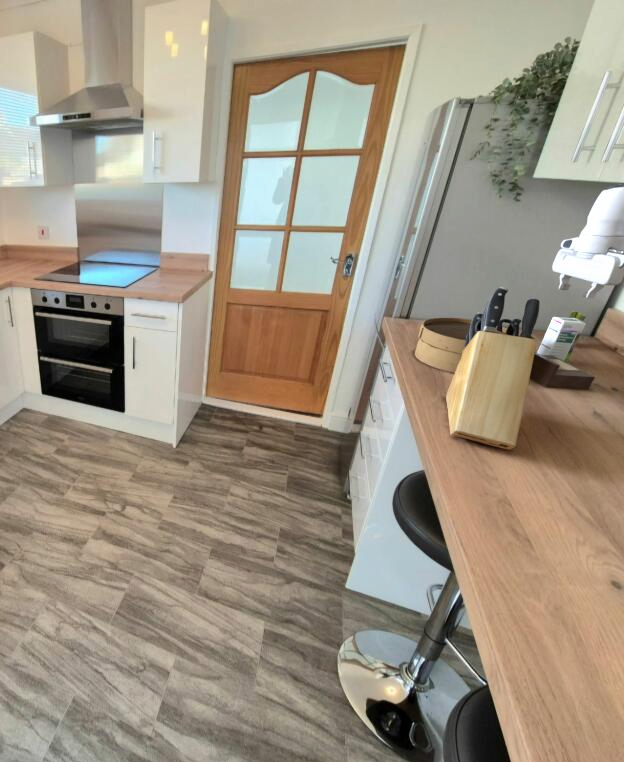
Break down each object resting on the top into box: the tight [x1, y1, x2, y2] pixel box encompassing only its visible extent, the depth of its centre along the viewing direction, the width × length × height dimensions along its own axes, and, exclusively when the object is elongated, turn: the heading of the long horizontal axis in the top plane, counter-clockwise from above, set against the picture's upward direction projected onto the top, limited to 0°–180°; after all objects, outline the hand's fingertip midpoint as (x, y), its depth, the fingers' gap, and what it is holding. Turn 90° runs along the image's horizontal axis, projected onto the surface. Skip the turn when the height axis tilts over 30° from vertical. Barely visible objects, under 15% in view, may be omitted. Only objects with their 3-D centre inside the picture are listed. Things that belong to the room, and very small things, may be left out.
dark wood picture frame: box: [529, 351, 596, 390], centre depth 129 cm, size 11×16×7 cm
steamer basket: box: [414, 317, 520, 374], centre depth 139 cm, size 25×25×11 cm
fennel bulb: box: [568, 310, 587, 322], centre depth 152 cm, size 6×5×12 cm
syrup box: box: [536, 316, 587, 363], centre depth 138 cm, size 6×6×14 cm
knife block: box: [445, 286, 541, 450], centre depth 103 cm, size 11×35×31 cm, turn 147°
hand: (575, 293), depth 127 cm, fingers open, 8 cm apart
